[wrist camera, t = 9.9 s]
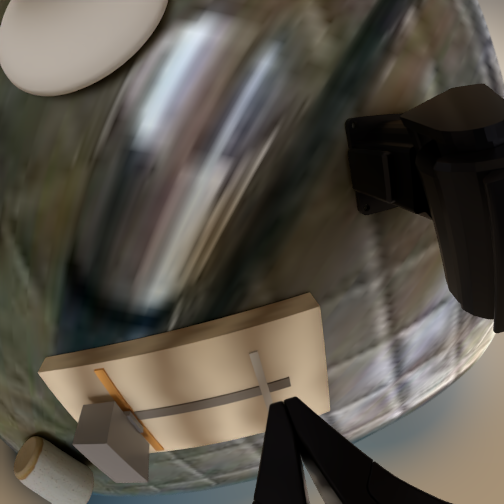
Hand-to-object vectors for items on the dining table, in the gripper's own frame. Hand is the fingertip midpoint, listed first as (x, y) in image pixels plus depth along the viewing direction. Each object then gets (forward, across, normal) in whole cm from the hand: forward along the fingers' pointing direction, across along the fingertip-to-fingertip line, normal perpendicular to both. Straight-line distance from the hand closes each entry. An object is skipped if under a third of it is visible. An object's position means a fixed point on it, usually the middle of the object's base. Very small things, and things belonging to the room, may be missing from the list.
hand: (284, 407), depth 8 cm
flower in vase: (+12, +6, -19) cm, 23 cm away
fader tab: (+10, +13, +10) cm, 19 cm away
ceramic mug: (+12, +28, +19) cm, 36 cm away
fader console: (+12, +6, +10) cm, 17 cm away
